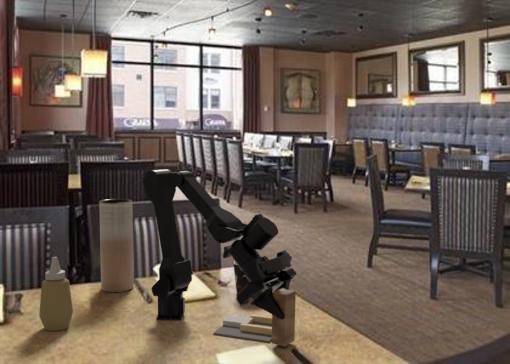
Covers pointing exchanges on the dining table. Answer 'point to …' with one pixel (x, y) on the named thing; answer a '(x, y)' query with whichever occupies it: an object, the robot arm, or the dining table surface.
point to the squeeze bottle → (55, 299)
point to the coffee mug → (239, 278)
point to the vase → (116, 245)
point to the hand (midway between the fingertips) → (288, 315)
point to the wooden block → (286, 327)
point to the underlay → (247, 327)
